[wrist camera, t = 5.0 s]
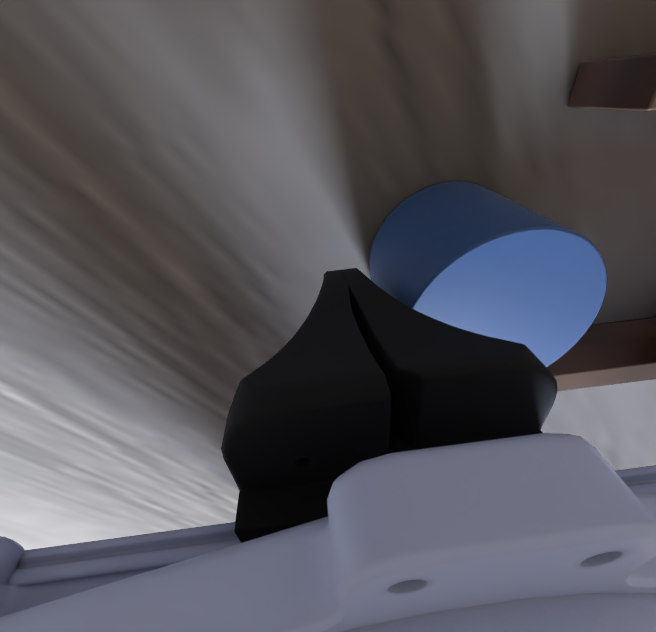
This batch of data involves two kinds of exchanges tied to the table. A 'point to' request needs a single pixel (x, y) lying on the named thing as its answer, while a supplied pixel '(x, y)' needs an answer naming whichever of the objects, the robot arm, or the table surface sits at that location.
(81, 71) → the table surface
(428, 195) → the puck
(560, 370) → the frame
